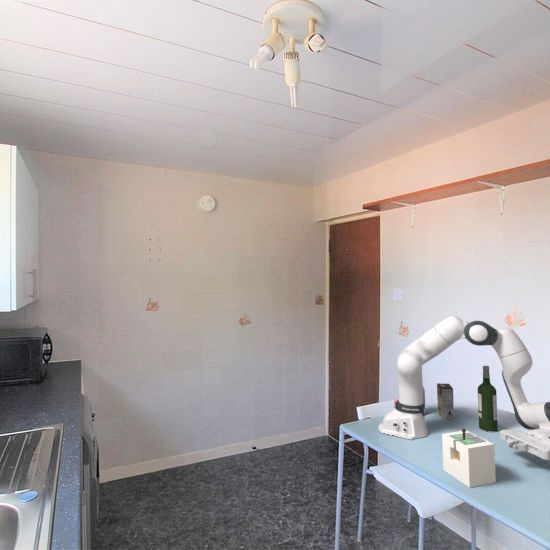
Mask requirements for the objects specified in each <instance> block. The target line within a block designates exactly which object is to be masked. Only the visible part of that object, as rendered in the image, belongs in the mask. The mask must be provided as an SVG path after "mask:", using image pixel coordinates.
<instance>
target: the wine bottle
mask: <svg viewBox="0 0 550 550" xmlns="http://www.w3.org/2000/svg"><path fill="white" fill-rule="evenodd" d="M497 400H498V396H497V389H496V387H495V386H494V385H492V383H491V376H490V366H489V365H483V366H482V382H481V384H479V385H478V387H477V410H478V413H477V414H478V428H479V429H480V430H481V429H482V431H484V430H485V431H484V432H488V431H496V432H498V431H497V430H499V426H498V424H499V422H498V403H497V402H498V401H497Z"/></svg>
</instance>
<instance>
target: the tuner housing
mask: <svg viewBox="0 0 550 550" xmlns="http://www.w3.org/2000/svg"><path fill="white" fill-rule="evenodd" d="M465 430H466V429H465ZM441 439H442V440H441V441H442V445H441V446H442V468H443V471H444V472H446V473H448V474H449V475H451V477H453V478H455V479H456V480H458V482H460V483H462V484H464V485H465V486H467V488H469V489H471V488H475V487H480V486H487V485H492V484H495V483H496V482H497V481H496V479H497V478H496V461H495V460H496V459H495V457H496V453H495V452H494V451H495V444H494V443H493V442H491V441H488V440H487V439H484V438H482V437H479V436H478V435H476V434H474V433H472V432H471V431H468V430H466V432H465V440H463V432H462V430H459V431H453V432H452V431H451V432H447V433H446V432H445V433H442V434H441ZM456 450H457V451H459V452H460V460H458V459H457V458H456Z"/></svg>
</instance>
